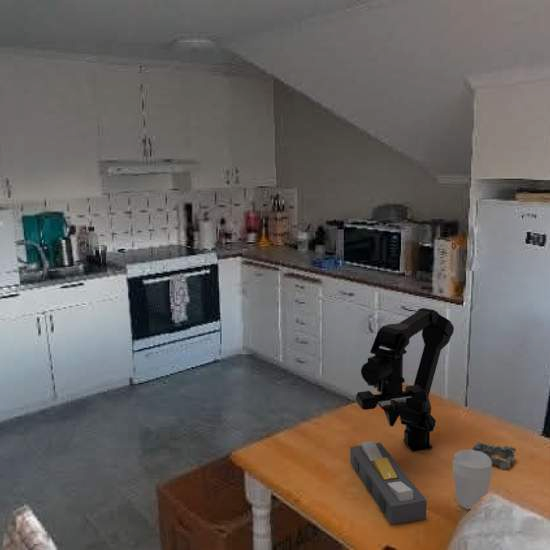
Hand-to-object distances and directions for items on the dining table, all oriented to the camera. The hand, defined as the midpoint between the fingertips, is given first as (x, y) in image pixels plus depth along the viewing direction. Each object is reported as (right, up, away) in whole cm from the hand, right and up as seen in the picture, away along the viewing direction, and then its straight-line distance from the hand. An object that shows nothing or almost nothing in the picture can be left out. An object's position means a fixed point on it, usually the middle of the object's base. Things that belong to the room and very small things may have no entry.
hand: (391, 425), depth 154 cm
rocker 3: (-1, -12, -18) cm, 22 cm away
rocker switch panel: (-3, -14, -8) cm, 17 cm away
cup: (+17, -15, -15) cm, 27 cm away
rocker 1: (-5, -9, 0) cm, 10 cm away
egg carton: (+29, -11, +3) cm, 32 cm away
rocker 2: (-3, -10, -9) cm, 14 cm away
